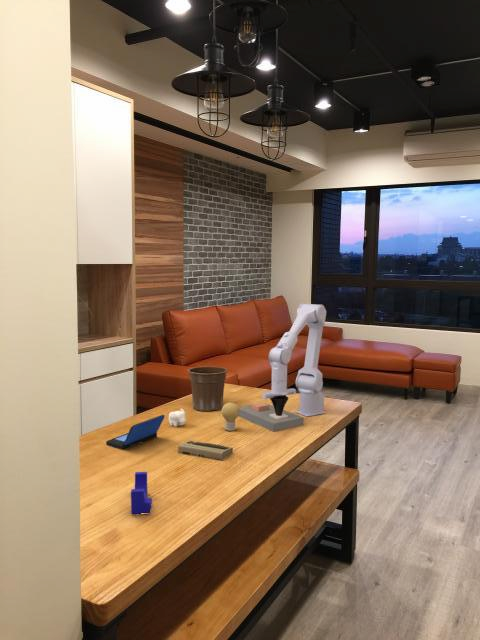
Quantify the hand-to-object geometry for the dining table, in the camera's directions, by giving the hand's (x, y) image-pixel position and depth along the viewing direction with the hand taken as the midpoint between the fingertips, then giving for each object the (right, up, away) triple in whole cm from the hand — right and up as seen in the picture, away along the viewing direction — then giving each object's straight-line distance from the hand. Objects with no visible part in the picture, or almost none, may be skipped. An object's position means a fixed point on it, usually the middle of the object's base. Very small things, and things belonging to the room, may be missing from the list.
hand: (278, 415), depth 199 cm
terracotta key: (-7, -1, +10) cm, 12 cm away
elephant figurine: (-38, -4, -2) cm, 38 cm away
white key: (0, -3, 0) cm, 3 cm away
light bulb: (-18, -4, -7) cm, 20 cm away
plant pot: (-28, -1, +23) cm, 36 cm away
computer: (-25, -7, -30) cm, 40 cm away
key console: (-3, -3, +5) cm, 7 cm away
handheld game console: (-50, -6, -20) cm, 54 cm away
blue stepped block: (-39, -11, -65) cm, 77 cm away
